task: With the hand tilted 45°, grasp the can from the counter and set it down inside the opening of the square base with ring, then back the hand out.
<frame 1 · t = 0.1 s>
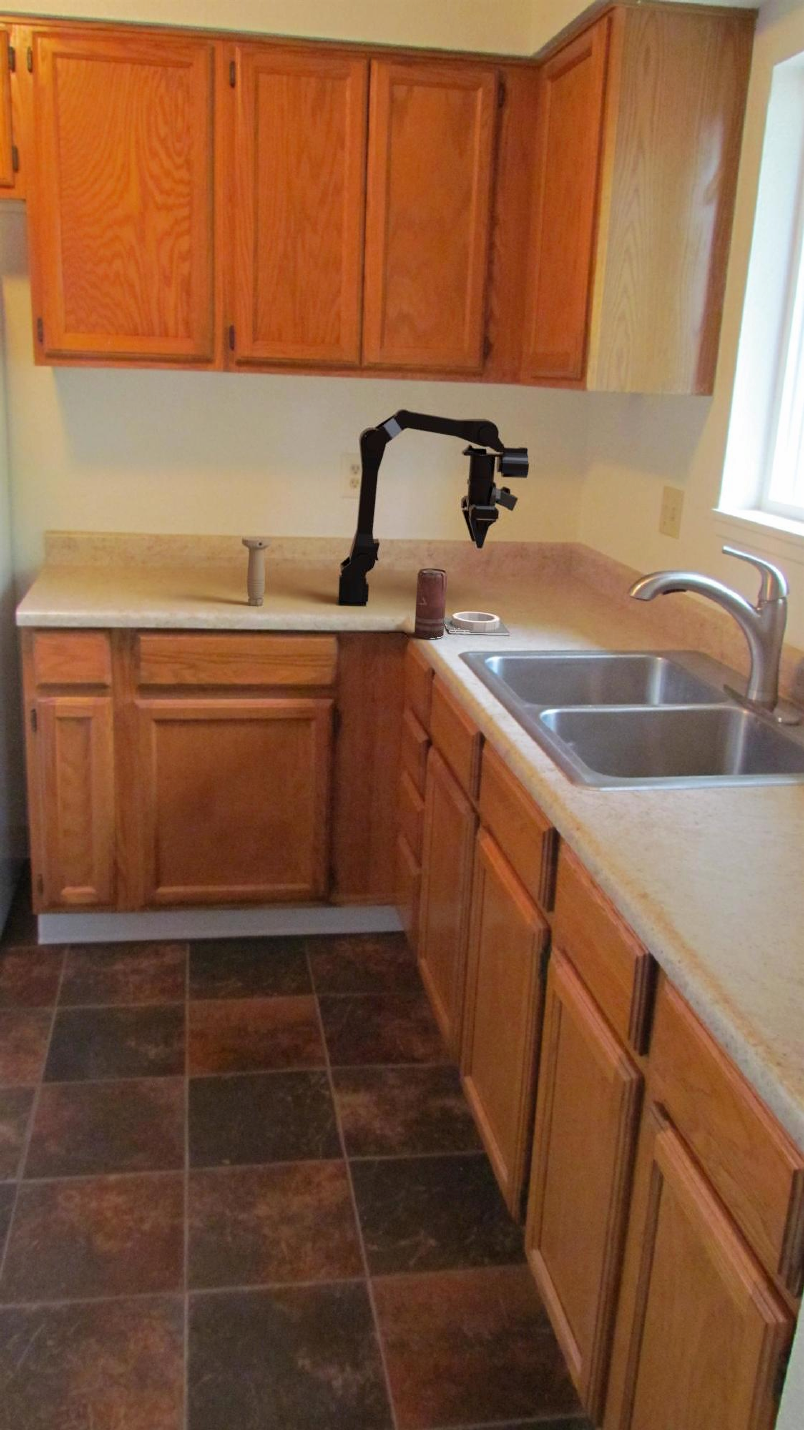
hand: (476, 544, 278), 15 cm above the worktop, tool pointing down, fingers open, 9 cm apart
square base with ring: (475, 627, 263), on the worktop
can: (429, 637, 253), on the worktop
handle: (255, 605, 273), on the worktop
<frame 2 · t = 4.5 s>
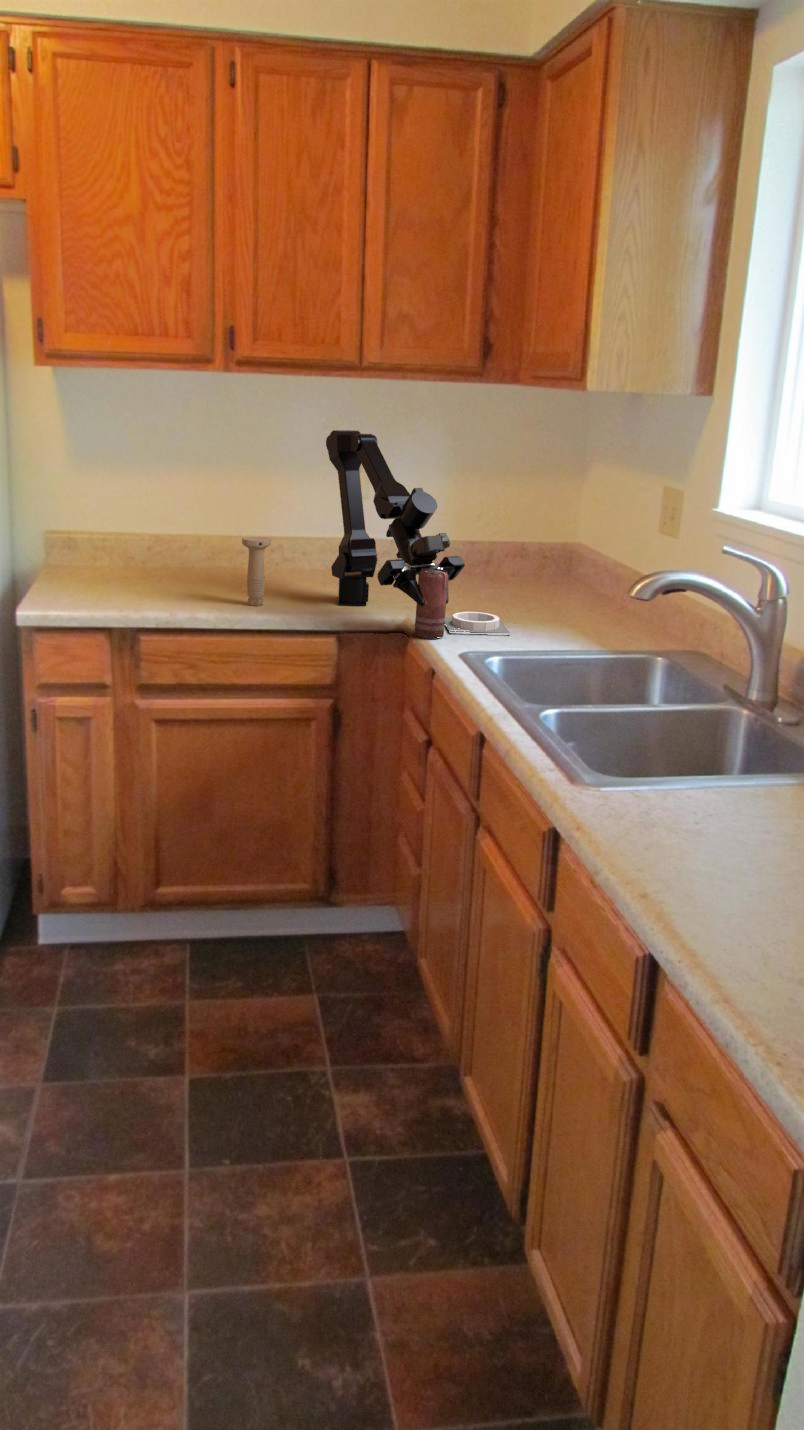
hand: (435, 604, 250), 7 cm above the worktop, tool tilted 45°, fingers closed on can, 5 cm apart
can: (429, 637, 253), on the worktop, touching gripper
everything else where it was.
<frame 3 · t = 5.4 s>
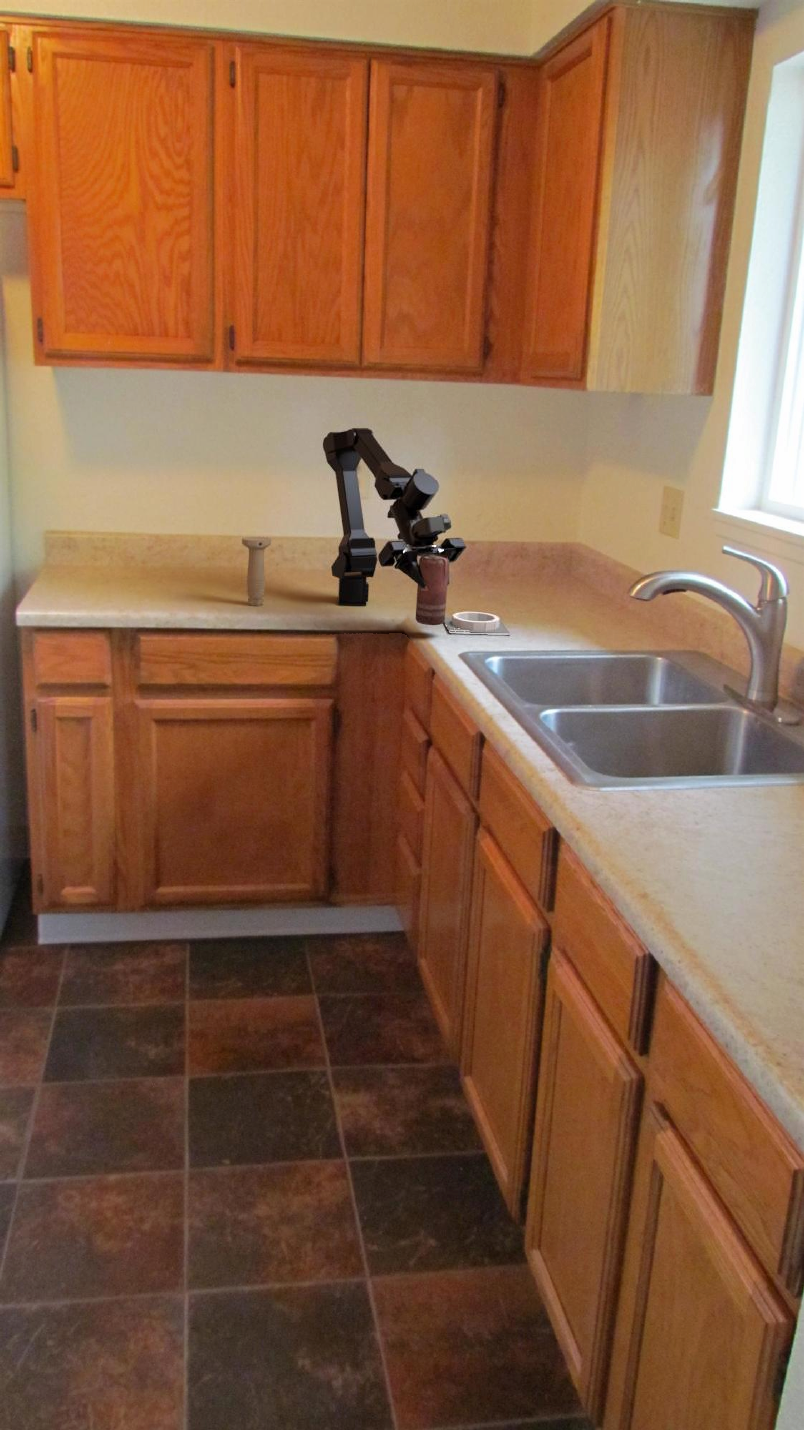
hand: (436, 585, 249), 11 cm above the worktop, tool tilted 45°, fingers closed on can, 5 cm apart
can: (430, 622, 253), point 3 cm above the worktop, touching gripper
everything else where it was.
when the fingers open (9 cm above the worktop, at t = 8.4 s): can stays where it is, resting on square base with ring.
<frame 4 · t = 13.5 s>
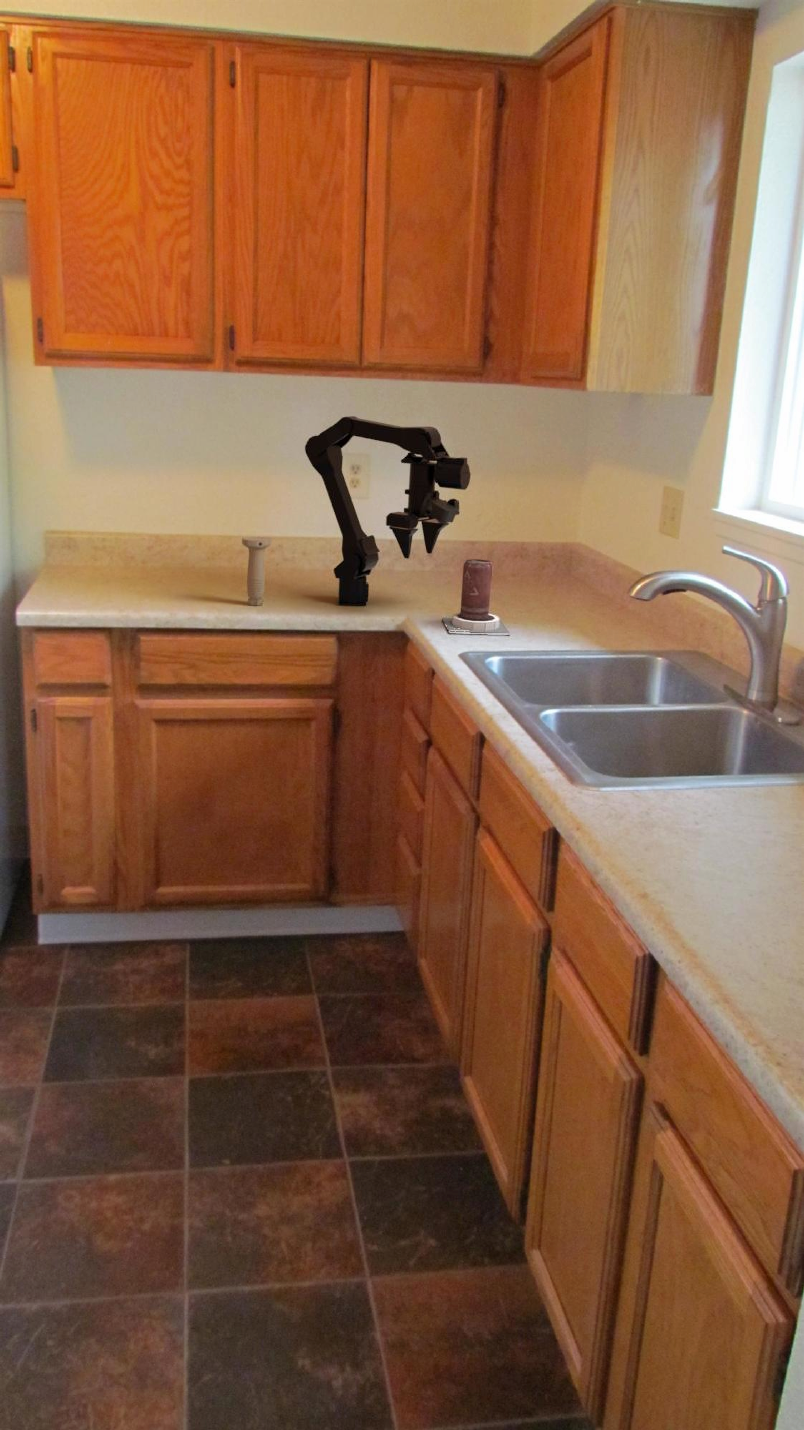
hand: (418, 555, 270), 13 cm above the worktop, tool pointing down, fingers open, 9 cm apart
can: (474, 625, 263), resting on square base with ring
everything else where it was.
at the end: can 0.3 cm off-centre on the square base with ring, point 0.4 cm above the square base with ring's base; can tilted 0°; the gripper is holding nothing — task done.
